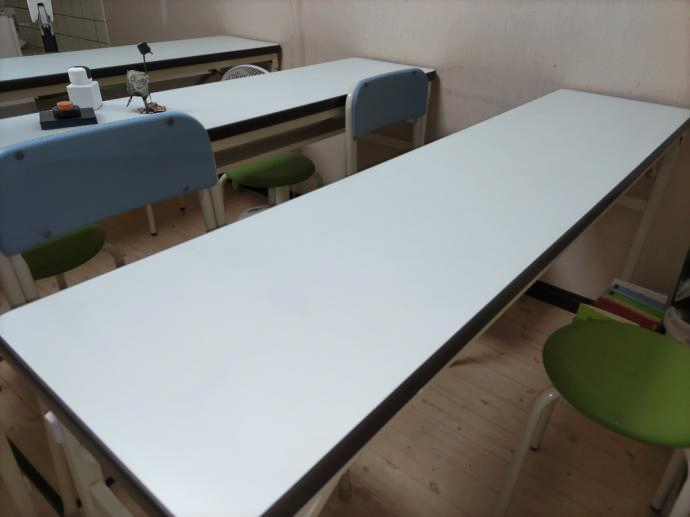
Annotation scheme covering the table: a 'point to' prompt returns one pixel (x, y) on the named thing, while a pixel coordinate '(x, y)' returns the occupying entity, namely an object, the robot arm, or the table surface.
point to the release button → (65, 105)
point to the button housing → (67, 117)
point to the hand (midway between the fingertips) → (51, 49)
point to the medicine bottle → (83, 88)
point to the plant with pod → (141, 84)
